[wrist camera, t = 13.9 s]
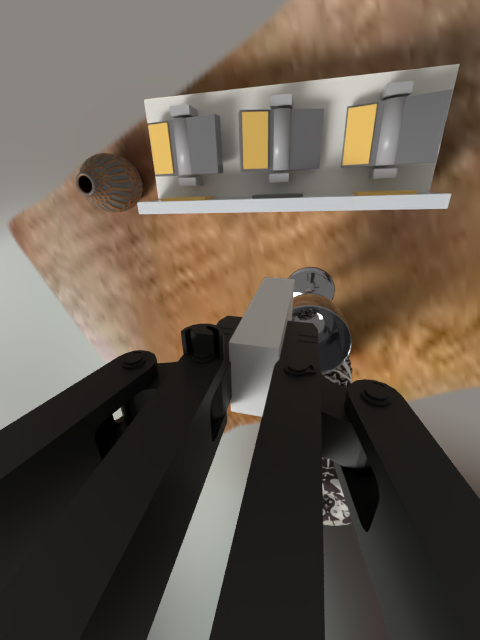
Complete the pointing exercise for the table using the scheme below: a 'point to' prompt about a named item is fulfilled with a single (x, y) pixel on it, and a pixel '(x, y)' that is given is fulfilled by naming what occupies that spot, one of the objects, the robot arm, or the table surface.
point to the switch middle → (280, 139)
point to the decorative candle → (332, 492)
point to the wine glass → (321, 316)
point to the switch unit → (301, 185)
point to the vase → (110, 182)
